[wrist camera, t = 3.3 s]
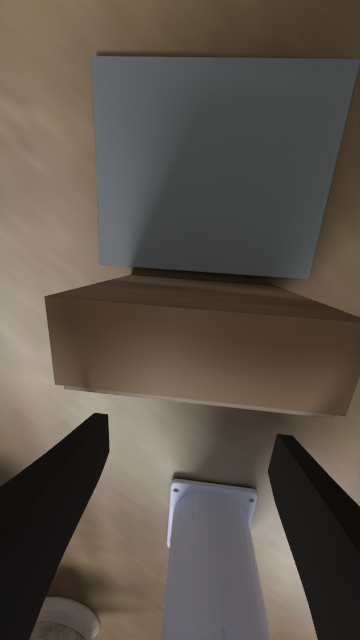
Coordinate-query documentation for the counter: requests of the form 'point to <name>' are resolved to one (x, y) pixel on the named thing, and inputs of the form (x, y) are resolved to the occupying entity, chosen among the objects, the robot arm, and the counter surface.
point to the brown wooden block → (205, 344)
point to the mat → (217, 160)
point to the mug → (65, 621)
